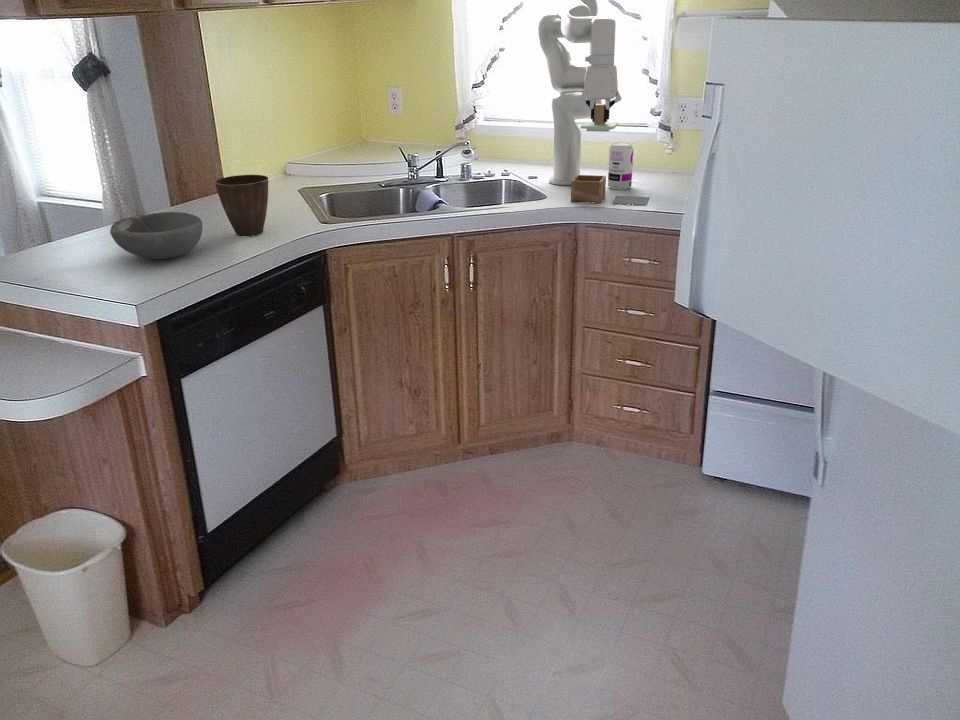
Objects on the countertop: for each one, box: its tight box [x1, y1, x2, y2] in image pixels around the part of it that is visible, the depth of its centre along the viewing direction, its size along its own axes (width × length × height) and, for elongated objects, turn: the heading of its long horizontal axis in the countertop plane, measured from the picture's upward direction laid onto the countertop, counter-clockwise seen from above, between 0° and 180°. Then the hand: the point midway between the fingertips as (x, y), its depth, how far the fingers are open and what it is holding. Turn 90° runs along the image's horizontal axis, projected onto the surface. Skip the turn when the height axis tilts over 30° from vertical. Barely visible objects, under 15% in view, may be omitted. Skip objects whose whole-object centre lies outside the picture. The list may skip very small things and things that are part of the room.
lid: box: [579, 103, 619, 133], centre depth 260 cm, size 10×10×8 cm
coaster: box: [611, 195, 650, 206], centre depth 268 cm, size 11×11×1 cm
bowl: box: [109, 211, 203, 260], centre depth 219 cm, size 23×22×10 cm
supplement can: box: [607, 142, 634, 191], centre depth 284 cm, size 8×8×15 cm
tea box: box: [570, 174, 607, 204], centre depth 270 cm, size 10×10×7 cm
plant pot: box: [214, 174, 269, 237], centre depth 237 cm, size 15×15×16 cm
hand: (599, 121), depth 261 cm, fingers closed on lid, 3 cm apart
